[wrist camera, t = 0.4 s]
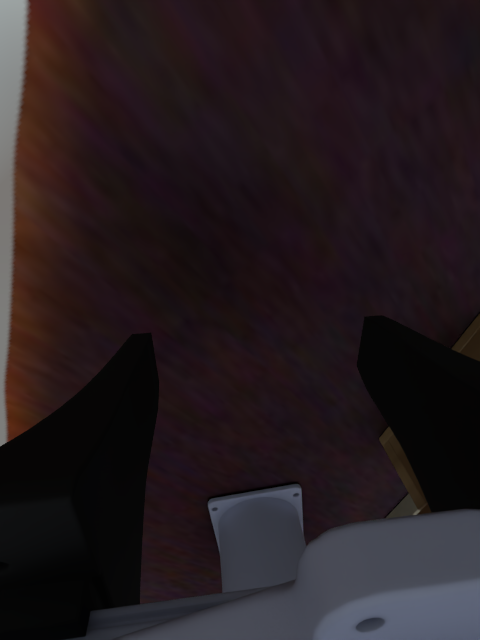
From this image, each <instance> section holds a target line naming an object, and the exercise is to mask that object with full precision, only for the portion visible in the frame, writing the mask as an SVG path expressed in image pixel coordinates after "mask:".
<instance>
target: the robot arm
mask: <svg viewBox="0 0 480 640" xmlns="http://www.w3.org/2000/svg"><path fill="white" fill-rule="evenodd" d="M357 367H358V370H359V372H360V375H361V377H362V380H363V382H364V384H365V387H366V389H367V391H368V392H369V394H370V396H371V398H372V399H373V401H374V403H375V404H376V406H377V408H378V409H379V411H380V412H381V414H382V416H383V417H384V419H385V421H386V422H387V424H388V425H389V427H390V429H391V430H392V432H393V434H394V435H395V437H396V439H397V440H398V442H399V444H400V445H401V447H402V449H403V451H404V453H405V455H406V457H407V459H408V461H409V463H410V465H411V467H412V469H413V472H414V474H415V476H416V478H417V480H418V482H419V485H420V487H421V489H422V492H423V494H424V496H425V498H426V501H427V503H428V505H429V508H430V510H431V513H426V514H417V515H409V516H401V517H393V518H385V519H377V520H369V521H361V522H353V523H349V524H346V525H342V526H339V527H335V528H332V529H328V530H327V531H325V532H324V533H322V534H321V535H319V536H318V537H316V538H315V539H313V540H312V541H310V542H309V544H308V545H307V547H306V543H305V539H304V535H303V513H302V490H301V487H300V485H299V484H292V485H286V486H280V487H275V488H269V489H263V490H257V491H252V492H246V493H240V494H234V495H229V496H223V497H217V498H212V499H210V500H209V501H208V508H209V512H210V516H211V520H212V524H213V528H214V532H215V536H216V540H217V544H218V548H219V552H220V560H221V575H222V590H223V593H218V594H211V595H204V596H196V597H189V598H182V599H175V600H167V601H160V602H153V603H145V604H140V578H141V555H142V535H143V518H144V502H145V488H146V477H147V469H148V463H149V458H150V452H151V446H152V441H153V435H154V429H155V424H156V418H157V412H158V398H159V379H158V373H157V366H156V360H155V354H154V348H153V341H152V335H151V333H143V334H132V335H131V336H130V337H129V338H128V339H127V341H126V342H125V343H124V344H123V345H122V347H121V348H120V349H119V350H118V351H117V353H116V354H115V355H114V356H113V357H112V359H111V360H110V361H109V362H108V363H107V364H106V365H105V366H104V367H103V369H102V370H101V371H100V372H99V373H98V374H97V375H96V376H95V377H94V378H93V379H92V380H91V381H90V382H89V383H88V384H87V385H86V386H85V387H84V388H83V389H82V390H81V391H79V392H78V393H77V394H76V395H75V396H74V397H72V398H71V399H70V400H69V401H68V402H66V403H65V404H64V405H63V406H61V407H60V408H59V409H57V410H56V411H55V412H53V413H52V414H50V415H49V416H48V417H46V418H45V419H43V420H42V421H40V422H39V423H38V424H36V425H35V426H33V427H32V428H30V429H29V430H27V431H26V432H24V433H22V434H21V435H19V436H17V437H16V438H14V439H12V440H11V441H9V442H7V443H5V444H4V445H2V446H0V640H480V361H478V360H475V359H473V358H470V357H468V356H466V355H463V354H461V353H459V352H457V351H454V350H452V349H450V348H448V347H446V346H444V345H442V344H439V343H437V342H435V341H433V340H431V339H429V338H427V337H425V336H423V335H421V334H420V333H418V332H416V331H414V330H412V329H410V328H408V327H406V326H404V325H402V324H400V323H398V322H396V321H394V320H392V319H389V318H387V317H385V316H369V317H365V318H364V324H363V330H362V336H361V342H360V348H359V354H358V360H357Z"/></svg>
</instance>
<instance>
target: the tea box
mask: <svg viewBox="0 0 480 640" xmlns="http://www.w3.org/2000/svg"><path fill="white" fill-rule="evenodd" d="M451 349H452V350H454V351H457V352H459V353H461V354H463V355H466V356H468V357H470V358H473V359H475V360H478V361H480V314H479V315H478V316H477V317H476V319H475V320H474V321H473V322H472V323H471V325H470V326H469V327H468V328H467V330H466V331H465V332H464V333H463V335H462V336H461V337H460V338H459V340H458V341H457V342H456V343H455V345H454V346H453V347H452V348H451ZM379 440H380V442H381V444H382V445H383V448H384V449H385V451H386V453H387V455H388V457H389V458H390V460H391V462H392V464H393V466H394V467H395V469H396V471H397V473H398V475H399V476H400V478H401V480H402V482H403V484H404V485H405V487H406V489H407V491H408V493H409V494H410V496H411V498H412V500H413V502H414V503H415V505H416V507H417V509H418V510H420V511H421V510H422V509H423V508H424V507H425V506H426V505H427V504H428V503H427V501H426V498H425V496H424V494H423V492H422V489H421V487H420V485H419V482H418V480H417V478H416V476H415V474H414V472H413V469H412V467H411V465H410V463H409V461H408V459H407V457H406V455H405V453H404V451H403V449H402V447H401V445H400V444H399V442H398V440H397V439H396V437H395V435H394V434H393V432H392V430H391V429H390V427H388V428H387V429H386V430H385V432H384V433H383V434H382V435H381V437H380V438H379Z"/></svg>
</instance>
